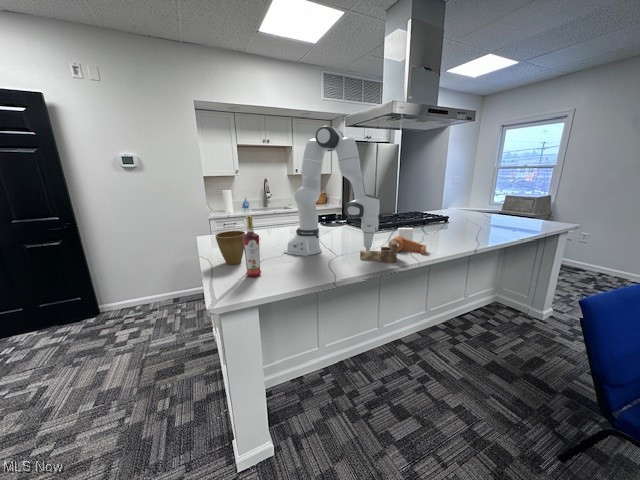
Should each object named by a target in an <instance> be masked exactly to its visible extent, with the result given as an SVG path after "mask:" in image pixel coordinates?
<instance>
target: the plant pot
mask: <svg viewBox="0 0 640 480" xmlns="http://www.w3.org/2000/svg"><path fill="white" fill-rule="evenodd" d="M245 234H246V232H245V231H243V230H230V231H229V230H228V231H222V232H219V233H216V234H215V241H216V242H217V245H218V249H219V251H220V254H221V256H222V258H223V260H224V262H225V263H226V264H227V265H229V266H232V265H233V266H234V265H238V264H241V263H242V260H243V257H244V253H245V252H244V245H243V238H242V237H243V236H244V235H245Z"/></svg>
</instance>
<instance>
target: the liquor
mask: <svg viewBox="0 0 640 480" xmlns="http://www.w3.org/2000/svg"><path fill="white" fill-rule="evenodd" d="M245 219H246V223H247V224H246V225H247V226H246V233H245V235H244V236H243V237H242V238H243V245H244V252H243V253H244V257H245V258H244V259H245V265H246V275H247V276H249V277H250V278H257V277H259V276H260V275H261V273H262V271H261V264H260V263H261V261H260V260H261V258H260V235H259V234H258V233H255V232H254V226H253V216H252V215H246V216H245Z"/></svg>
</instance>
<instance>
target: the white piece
mask: <svg viewBox="0 0 640 480" xmlns="http://www.w3.org/2000/svg"><path fill="white" fill-rule="evenodd" d="M397 236H400V237H403V238H405V239H408V240H411V241H413V236H414V228H413V227H397ZM397 246H399V245H398V243H397Z"/></svg>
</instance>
